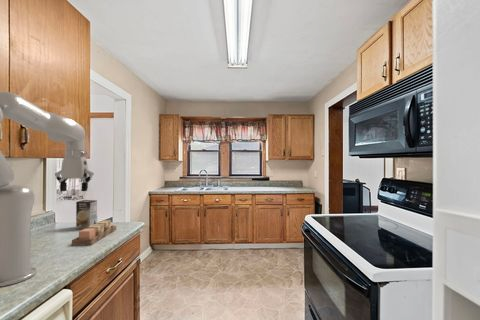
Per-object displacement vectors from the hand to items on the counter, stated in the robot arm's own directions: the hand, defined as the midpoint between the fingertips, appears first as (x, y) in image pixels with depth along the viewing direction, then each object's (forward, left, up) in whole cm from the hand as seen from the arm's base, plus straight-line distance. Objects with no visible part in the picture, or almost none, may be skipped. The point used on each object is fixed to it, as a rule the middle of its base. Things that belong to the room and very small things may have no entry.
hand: (73, 191), depth 113 cm
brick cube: (+6, +2, -25) cm, 25 cm away
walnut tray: (+12, +7, -26) cm, 29 cm away
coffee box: (+14, +31, -26) cm, 43 cm away
